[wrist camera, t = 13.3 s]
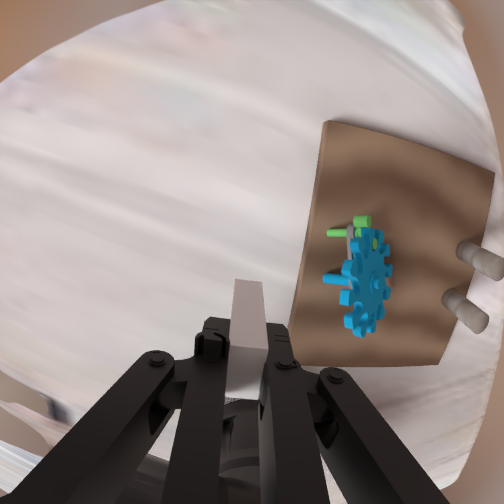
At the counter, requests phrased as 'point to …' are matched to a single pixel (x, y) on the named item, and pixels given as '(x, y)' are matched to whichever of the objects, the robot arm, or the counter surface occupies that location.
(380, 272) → the gear
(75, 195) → the counter surface
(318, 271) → the dowel plate
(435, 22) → the counter surface
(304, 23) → the counter surface
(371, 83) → the counter surface
